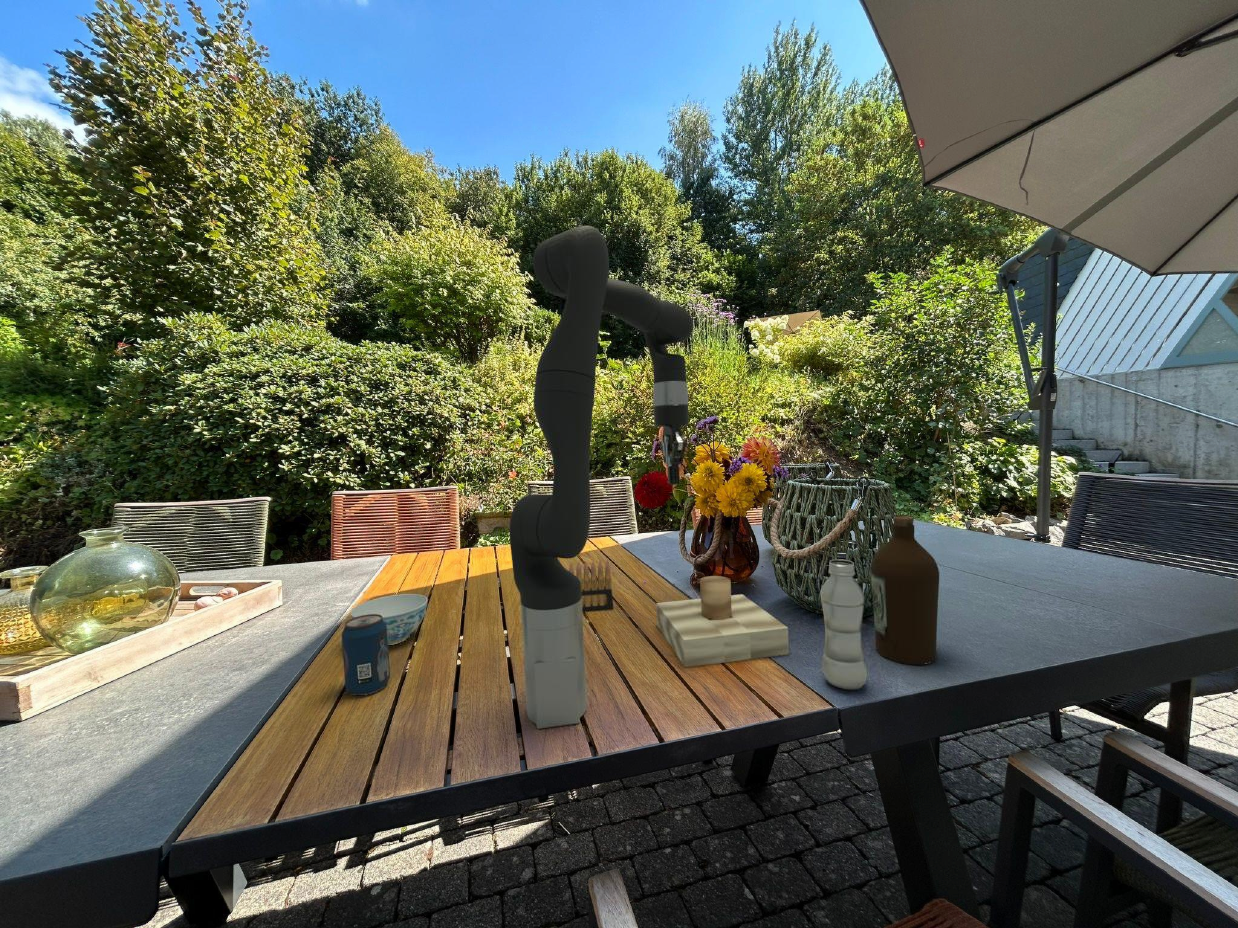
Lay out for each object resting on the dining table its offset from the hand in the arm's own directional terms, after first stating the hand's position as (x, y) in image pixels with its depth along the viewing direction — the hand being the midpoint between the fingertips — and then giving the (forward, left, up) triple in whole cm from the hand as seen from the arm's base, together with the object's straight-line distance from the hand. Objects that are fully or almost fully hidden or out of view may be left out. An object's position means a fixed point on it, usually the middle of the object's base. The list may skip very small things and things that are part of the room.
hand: (673, 483), depth 104 cm
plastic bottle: (-32, -18, -31) cm, 48 cm away
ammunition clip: (+14, +18, -31) cm, 39 cm away
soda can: (-13, +60, -31) cm, 69 cm away
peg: (-10, -5, -31) cm, 33 cm away
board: (-10, -5, -31) cm, 33 cm away
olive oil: (-25, -35, -31) cm, 53 cm away
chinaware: (+8, +62, -31) cm, 70 cm away
